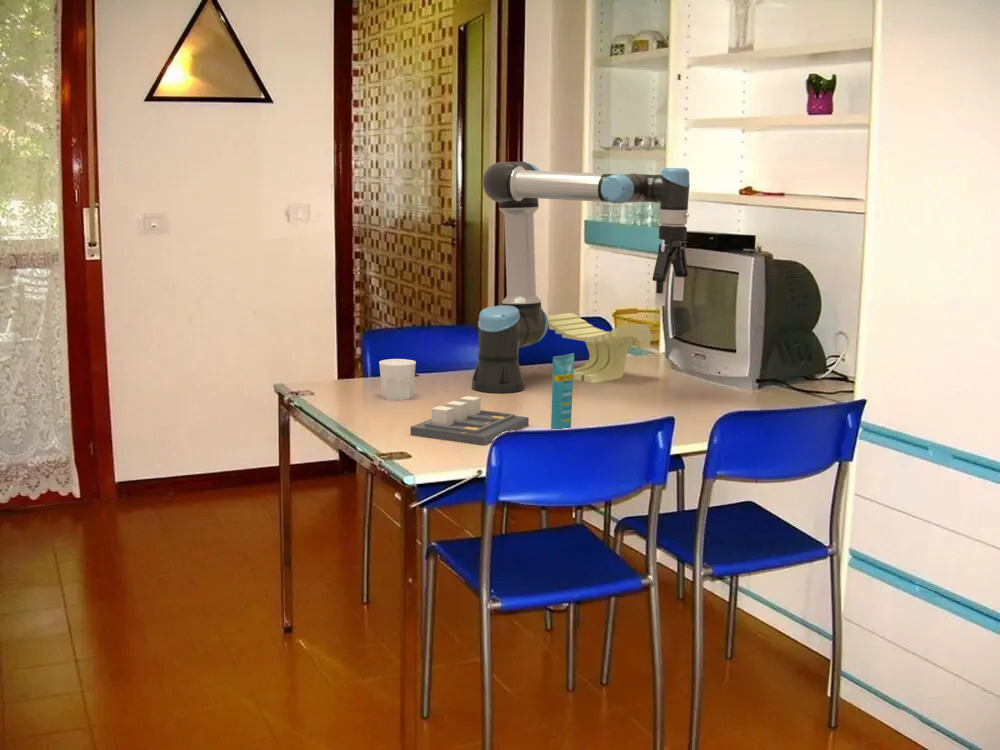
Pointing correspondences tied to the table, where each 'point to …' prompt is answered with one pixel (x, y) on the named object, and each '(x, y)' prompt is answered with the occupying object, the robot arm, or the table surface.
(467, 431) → the switch board
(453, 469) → the table surface
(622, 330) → the slatted curved stool
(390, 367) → the cup
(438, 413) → the white cube
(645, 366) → the table surface
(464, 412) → the tab mid
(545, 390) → the table surface
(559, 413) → the tube
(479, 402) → the tab far
